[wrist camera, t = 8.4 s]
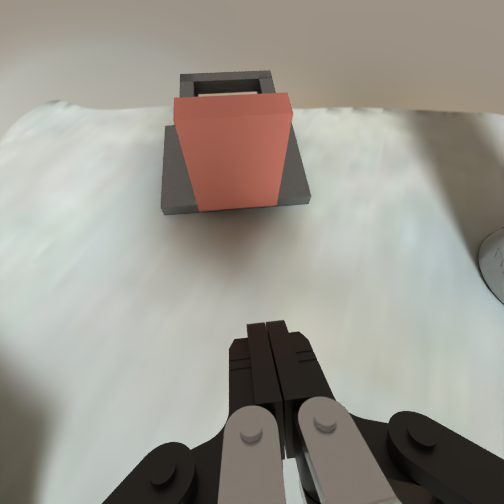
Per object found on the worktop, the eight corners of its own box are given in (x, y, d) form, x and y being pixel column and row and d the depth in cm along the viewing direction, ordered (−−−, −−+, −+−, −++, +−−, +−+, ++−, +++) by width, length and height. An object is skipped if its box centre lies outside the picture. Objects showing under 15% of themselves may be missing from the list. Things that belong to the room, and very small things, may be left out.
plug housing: (289, 128, 30) (299, 69, 24) (308, 203, 25) (326, 152, 19) (168, 135, 29) (149, 75, 23) (164, 215, 24) (139, 164, 19)
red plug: (263, 136, 27) (271, 34, 19) (276, 205, 23) (292, 113, 15) (197, 140, 27) (176, 37, 19) (199, 211, 23) (173, 119, 15)
